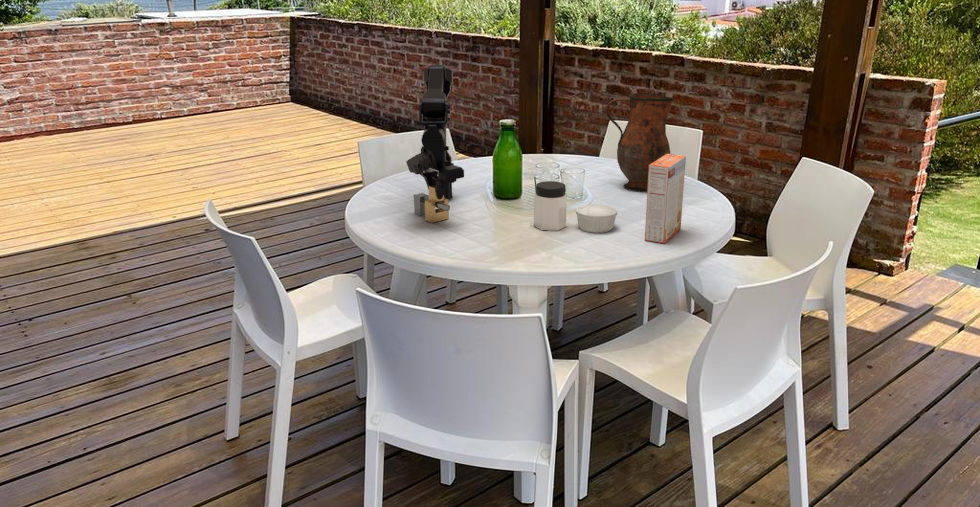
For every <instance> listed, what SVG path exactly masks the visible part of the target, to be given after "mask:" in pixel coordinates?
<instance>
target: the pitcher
mask: <svg viewBox="0 0 980 507" xmlns="http://www.w3.org/2000/svg"><path fill="white" fill-rule="evenodd" d="M674 100H675V98H674V97H670V96H664V95H663V96H662V95H657V94H653V93H648V92H647V93H645V92H636V93H632V94H630V95H629V98H626V97H616V98H613V99H612V100H610V101H609V102H608V103H606V106H605V114H606V116H607V119H609V120H610V122H611V123H613V125H614V126H615V127H616V128H617V129H618V130H619V131H620V136H619V140H618V144H617V149H616V157H617V163H618V164H617V165H618V166H619V169H620V171H621V173H622V174H623V175H624V176H625V178H626V179H627V182H626V183H624V184H623V188H624V189H626V190H628V191H632V192H639V191H640V192H641V193H643V191H647V189H648V170H649V165H650V164H651V163H653V162H655V161H656V160H658V159H659V158H661V157H662V156H664V155H666V154H672V153H671V148H670V142H669V140H668V137H667V132H666V130H667V129H666V128H667V127H666V126H667V125H666V124H667V119H668V115H669V112H670V110H671V105H672V103H673V102H674ZM620 101H626V102H629V108H630V109H629V115H628V122H627V123H626V125H625V128H624V130H622V128H621V126H620V125H619V124H618V122H616V120H614V119H613V117H611V115H610V113H609V108H610V107H611V105H612V104H613V103H615V102H620Z"/></svg>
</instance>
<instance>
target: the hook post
mask: <svg viewBox="0 0 980 507" xmlns="http://www.w3.org/2000/svg"><path fill="white" fill-rule="evenodd" d="M426 200H429V194H426V193H423V192H421V193H417V194H413V203H414V204H413V206H414V211H413V212H414V215H416V216H417V217H421V218H422V217H425V201H426ZM430 201H431V200H430ZM433 202H434V201H433ZM435 208H436V209H438V208H439V209H442V210H445V211H449V212H450V209H451V205H450V204H448V205H447V204H444V203H442V202H439V201H438V202H435Z"/></svg>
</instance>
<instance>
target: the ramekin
mask: <svg viewBox="0 0 980 507" xmlns="http://www.w3.org/2000/svg"><path fill="white" fill-rule="evenodd" d="M575 214H576V218H577V225H578V227H579V228H580V230H582V231H583V232H587V233H594V234H595V233H596V234H600V233H606V232H607V233H608V232H610V231H611V230H613V229H614V226H615V221H616V218H617V215H618V209H617V208H615V207H613V206H610V205H607V204H606V205H605V204H585V205H582V206H578V207H577V208H576V209H575Z"/></svg>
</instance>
